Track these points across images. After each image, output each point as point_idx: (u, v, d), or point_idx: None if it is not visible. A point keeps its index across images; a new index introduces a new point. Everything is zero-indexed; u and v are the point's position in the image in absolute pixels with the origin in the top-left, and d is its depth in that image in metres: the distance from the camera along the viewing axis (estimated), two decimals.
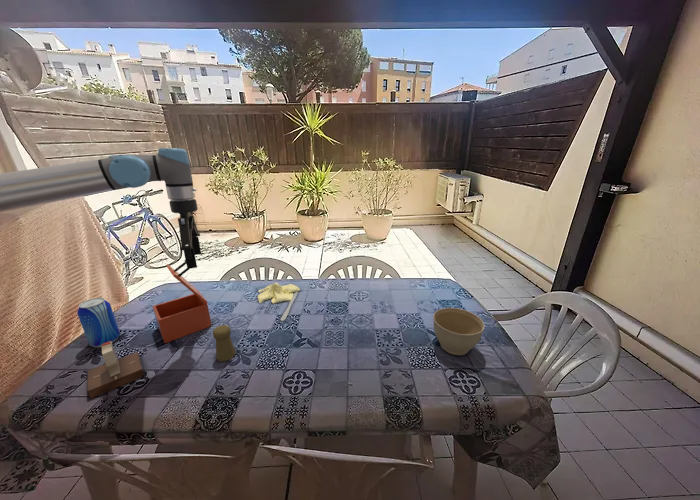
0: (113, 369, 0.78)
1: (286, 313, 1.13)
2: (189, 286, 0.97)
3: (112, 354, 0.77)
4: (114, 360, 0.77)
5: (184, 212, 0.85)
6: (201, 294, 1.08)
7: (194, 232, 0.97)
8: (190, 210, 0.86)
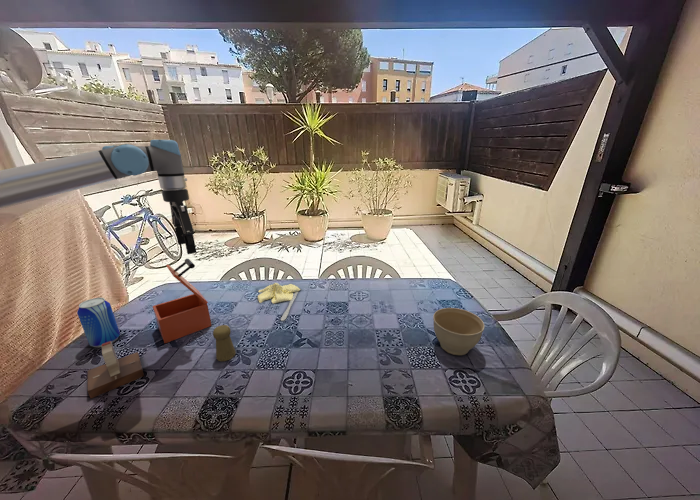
0: (113, 369, 0.78)
1: (286, 313, 1.13)
2: (189, 286, 0.97)
3: (112, 354, 0.77)
4: (114, 360, 0.77)
5: (180, 201, 0.90)
6: (201, 294, 1.08)
7: (180, 222, 1.00)
8: (185, 198, 0.92)
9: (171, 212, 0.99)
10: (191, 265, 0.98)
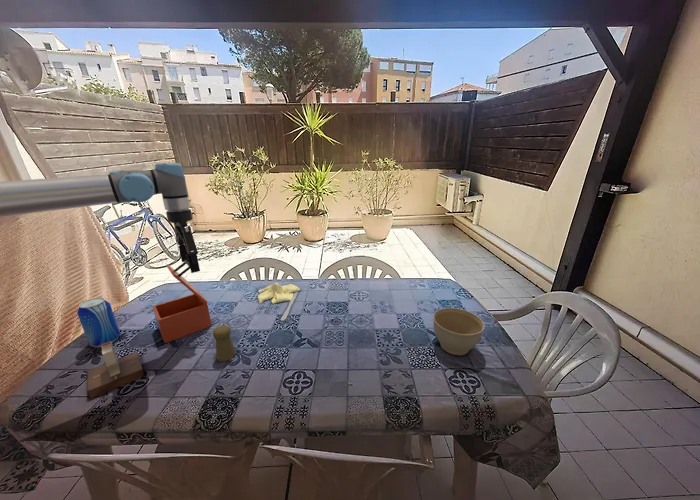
0: (113, 369, 0.78)
1: (286, 313, 1.13)
2: (189, 286, 0.97)
3: (112, 354, 0.77)
4: (114, 360, 0.77)
5: (184, 221, 0.93)
6: (201, 294, 1.08)
7: None
8: (189, 219, 0.94)
9: (175, 231, 1.01)
10: None
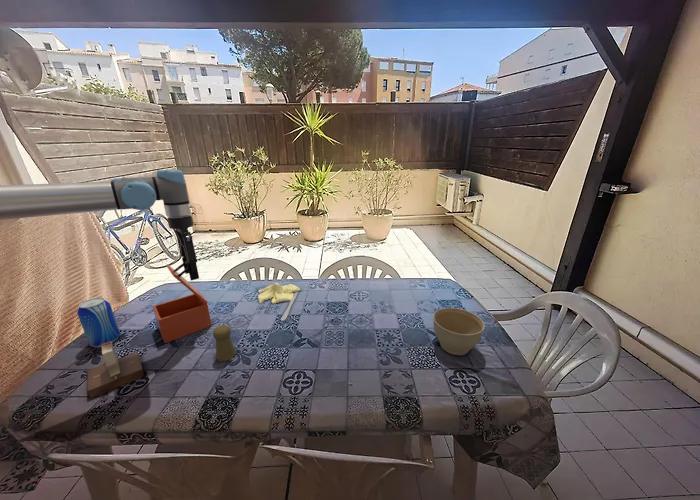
0: (113, 369, 0.78)
1: (286, 313, 1.13)
2: (189, 286, 0.97)
3: (112, 354, 0.77)
4: (114, 360, 0.77)
5: (185, 228, 0.93)
6: (201, 294, 1.08)
7: None
8: (190, 225, 0.94)
9: (177, 240, 1.01)
10: None
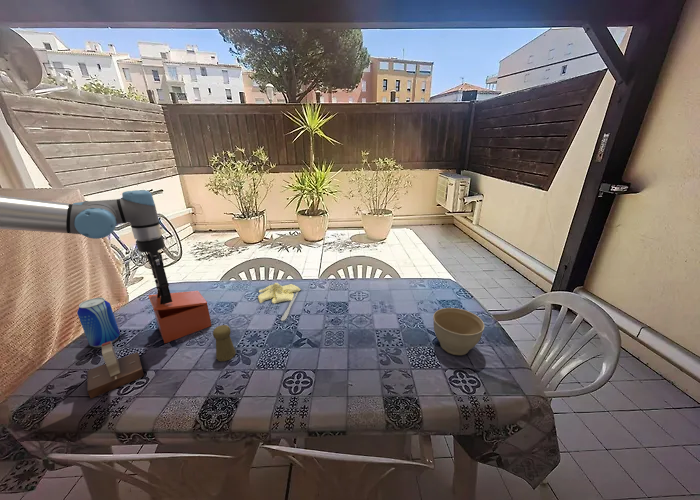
0: (113, 369, 0.78)
1: (286, 313, 1.13)
2: (177, 305, 0.96)
3: (112, 354, 0.77)
4: (114, 360, 0.77)
5: (155, 250, 0.89)
6: (200, 294, 1.07)
7: None
8: (160, 247, 0.90)
9: None
10: None
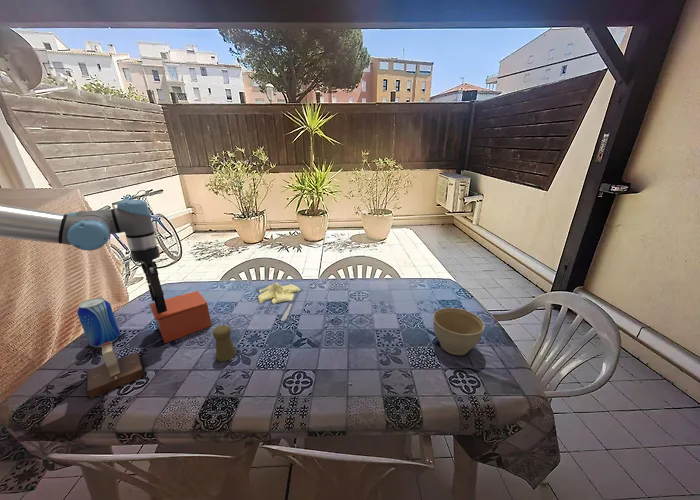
0: (113, 369, 0.78)
1: (286, 313, 1.13)
2: (177, 310, 0.96)
3: (112, 354, 0.77)
4: (114, 360, 0.77)
5: (150, 260, 0.89)
6: (200, 295, 1.07)
7: None
8: (155, 257, 0.90)
9: None
10: None
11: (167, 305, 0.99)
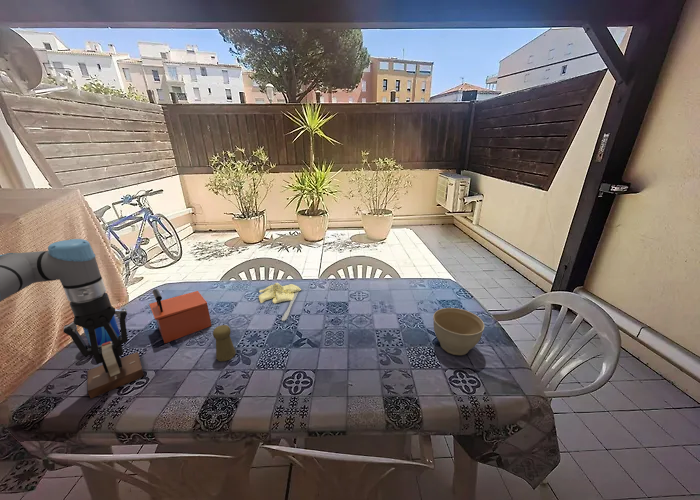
0: (113, 369, 0.78)
1: (287, 313, 1.13)
2: (177, 310, 0.96)
3: (112, 354, 0.77)
4: (114, 360, 0.77)
5: None
6: (200, 295, 1.07)
7: (111, 339, 0.77)
8: (76, 314, 0.70)
9: None
10: (157, 298, 0.93)
11: (167, 305, 0.99)
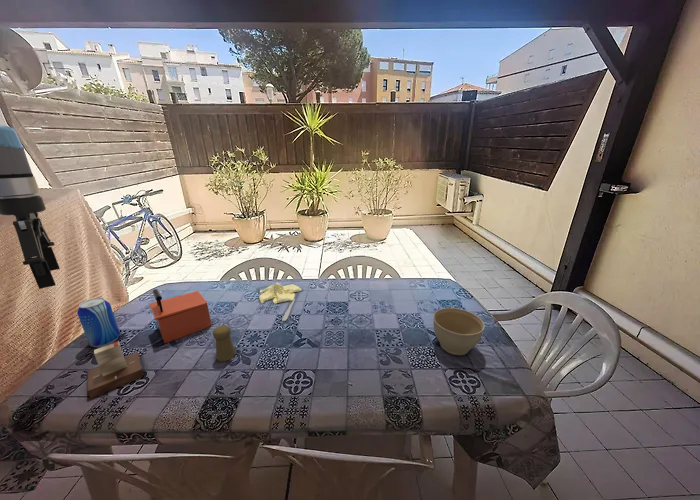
0: None
1: (287, 313, 1.13)
2: (177, 310, 0.96)
3: None
4: (97, 362, 0.76)
5: None
6: (200, 295, 1.07)
7: None
8: None
9: (35, 238, 0.62)
10: (157, 298, 0.93)
11: (167, 305, 0.99)
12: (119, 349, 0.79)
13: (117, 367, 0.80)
